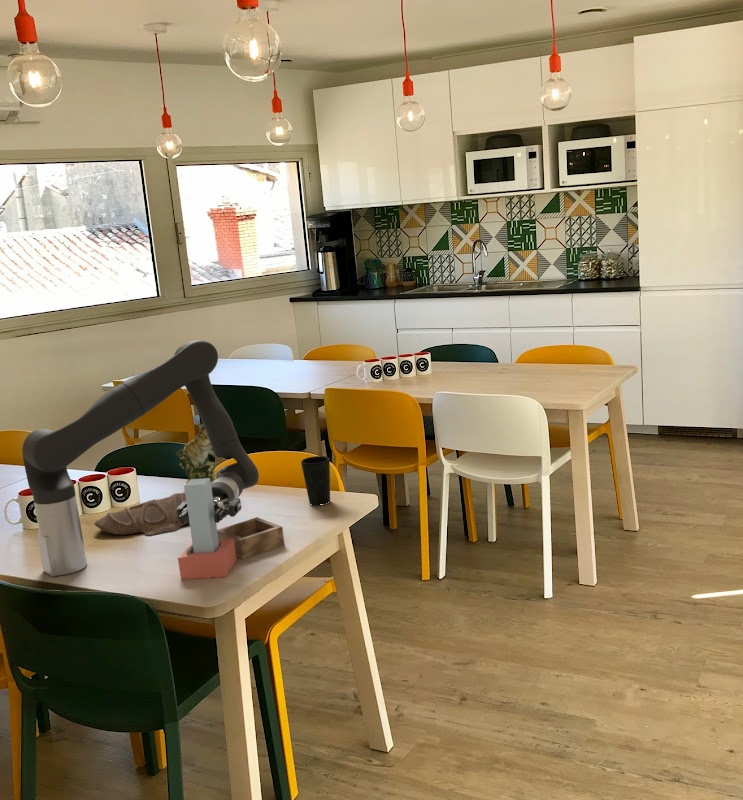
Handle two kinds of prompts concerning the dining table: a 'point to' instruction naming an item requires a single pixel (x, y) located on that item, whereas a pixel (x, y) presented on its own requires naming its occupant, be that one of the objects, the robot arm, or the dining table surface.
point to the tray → (253, 536)
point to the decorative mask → (145, 517)
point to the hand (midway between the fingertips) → (199, 519)
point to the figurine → (197, 457)
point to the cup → (317, 479)
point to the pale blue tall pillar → (201, 515)
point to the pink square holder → (207, 561)
